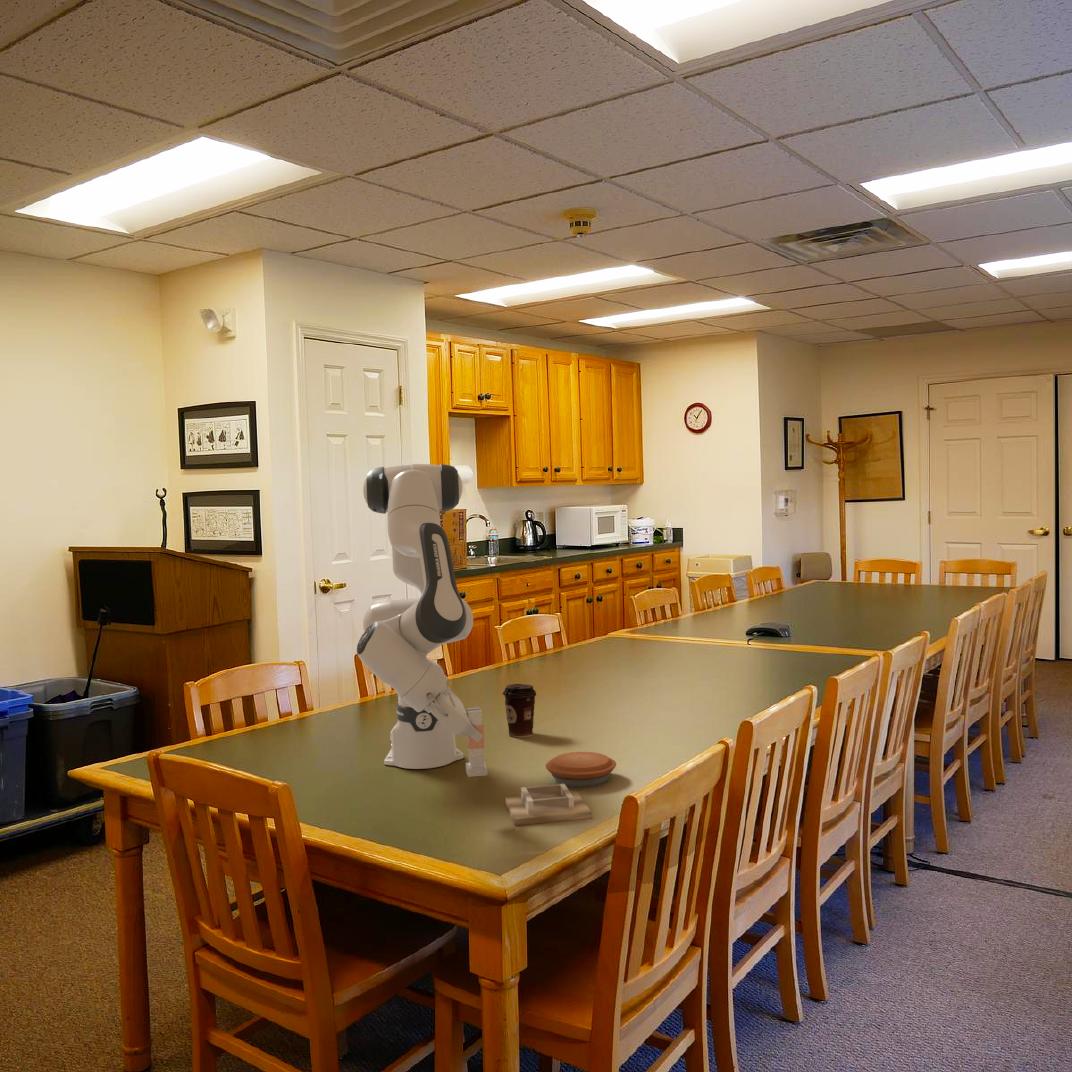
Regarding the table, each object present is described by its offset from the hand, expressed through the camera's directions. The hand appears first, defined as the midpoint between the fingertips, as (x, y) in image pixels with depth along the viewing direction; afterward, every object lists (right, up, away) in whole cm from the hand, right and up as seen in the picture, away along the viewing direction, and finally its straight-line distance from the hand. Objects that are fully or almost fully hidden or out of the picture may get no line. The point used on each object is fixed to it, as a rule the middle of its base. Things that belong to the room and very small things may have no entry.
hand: (478, 735), depth 186 cm
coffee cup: (+7, -13, +62) cm, 64 cm away
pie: (+21, -15, +23) cm, 34 cm away
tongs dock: (+14, -16, +3) cm, 21 cm away
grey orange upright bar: (0, -7, 0) cm, 7 cm away
